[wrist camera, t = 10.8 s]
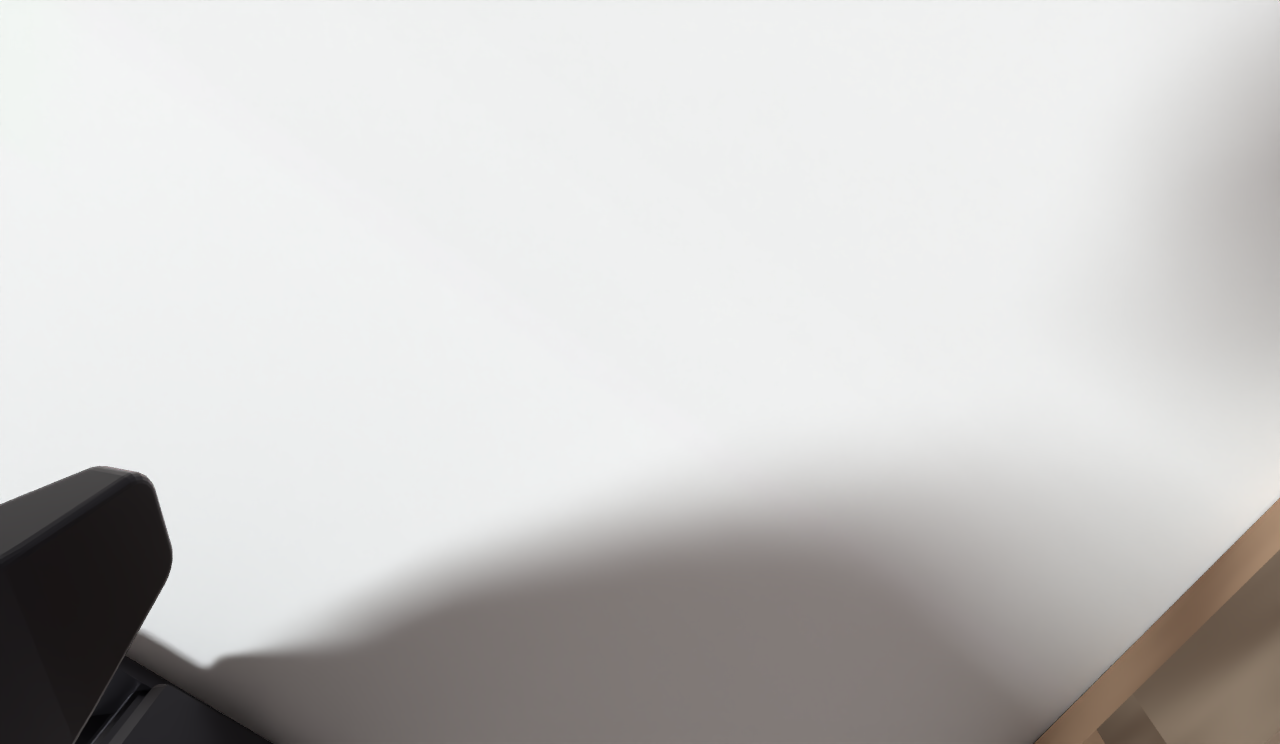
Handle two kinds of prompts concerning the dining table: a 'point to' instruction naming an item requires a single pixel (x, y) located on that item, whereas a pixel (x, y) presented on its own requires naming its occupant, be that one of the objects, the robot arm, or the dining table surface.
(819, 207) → the dining table surface
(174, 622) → the dining table surface
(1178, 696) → the holder
